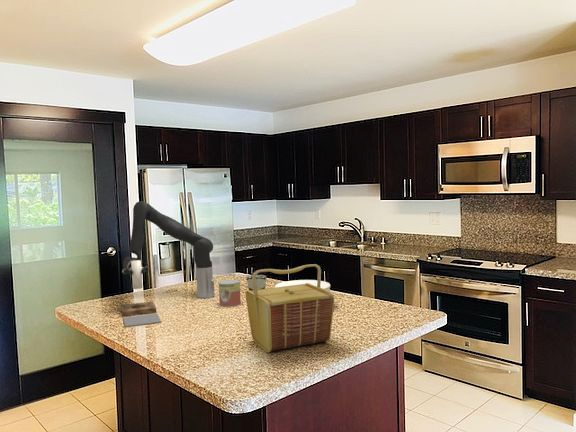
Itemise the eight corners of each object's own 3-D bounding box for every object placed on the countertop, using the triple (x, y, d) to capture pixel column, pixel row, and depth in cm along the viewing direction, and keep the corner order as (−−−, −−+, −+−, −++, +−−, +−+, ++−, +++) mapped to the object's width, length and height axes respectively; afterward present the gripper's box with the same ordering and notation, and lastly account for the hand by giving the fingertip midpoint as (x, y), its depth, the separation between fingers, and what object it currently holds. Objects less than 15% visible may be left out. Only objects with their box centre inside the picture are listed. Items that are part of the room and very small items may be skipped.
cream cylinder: (142, 286, 246) (140, 259, 246) (143, 288, 242) (141, 261, 241) (132, 287, 245) (130, 260, 244) (133, 289, 240) (131, 262, 239)
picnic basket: (267, 359, 169) (264, 275, 167) (244, 339, 193) (241, 265, 191) (338, 345, 181) (336, 267, 179) (308, 328, 204) (306, 259, 203)
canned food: (215, 306, 249) (214, 283, 249) (226, 301, 260) (225, 279, 259) (234, 307, 245) (233, 284, 245) (244, 302, 256) (243, 280, 255)
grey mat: (157, 314, 236) (157, 313, 236) (161, 322, 221) (161, 321, 221) (123, 318, 230) (123, 317, 230) (125, 327, 215) (125, 326, 215)
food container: (268, 291, 282) (268, 274, 281) (267, 293, 276) (266, 276, 275) (248, 291, 283) (247, 274, 282) (246, 293, 277) (245, 276, 276)
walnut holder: (153, 305, 254) (152, 301, 254) (156, 312, 240) (156, 307, 239) (121, 309, 249) (121, 304, 248) (123, 316, 234) (122, 311, 234)
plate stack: (291, 318, 222) (290, 293, 221) (266, 305, 247) (265, 284, 246) (341, 309, 235) (341, 286, 234) (312, 298, 260) (312, 277, 259)
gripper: (120, 262, 253) (121, 266, 237) (148, 259, 259) (151, 263, 243) (121, 276, 254) (122, 281, 238) (149, 273, 259) (152, 278, 243)
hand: (137, 272), depth 240 cm, fingers closed on cream cylinder, 4 cm apart
